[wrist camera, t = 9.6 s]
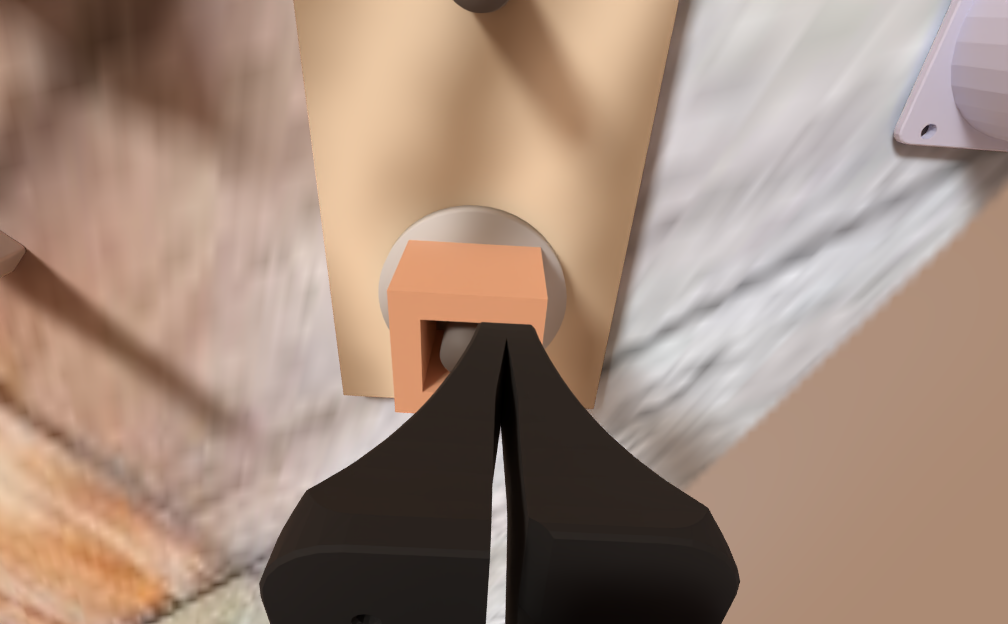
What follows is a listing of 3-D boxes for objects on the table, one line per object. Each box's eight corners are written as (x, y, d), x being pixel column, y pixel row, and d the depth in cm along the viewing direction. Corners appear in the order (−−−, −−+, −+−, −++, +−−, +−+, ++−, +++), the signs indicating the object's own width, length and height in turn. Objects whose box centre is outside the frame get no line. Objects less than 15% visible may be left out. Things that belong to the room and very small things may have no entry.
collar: (540, 247, 19) (547, 299, 16) (529, 354, 22) (533, 418, 18) (408, 239, 19) (386, 290, 16) (413, 348, 21) (395, 412, 18)
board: (736, -331, 13) (870, -529, 8) (590, 395, 25) (609, 484, 20) (259, -377, 12) (108, -614, 8) (349, 381, 25) (312, 468, 20)
